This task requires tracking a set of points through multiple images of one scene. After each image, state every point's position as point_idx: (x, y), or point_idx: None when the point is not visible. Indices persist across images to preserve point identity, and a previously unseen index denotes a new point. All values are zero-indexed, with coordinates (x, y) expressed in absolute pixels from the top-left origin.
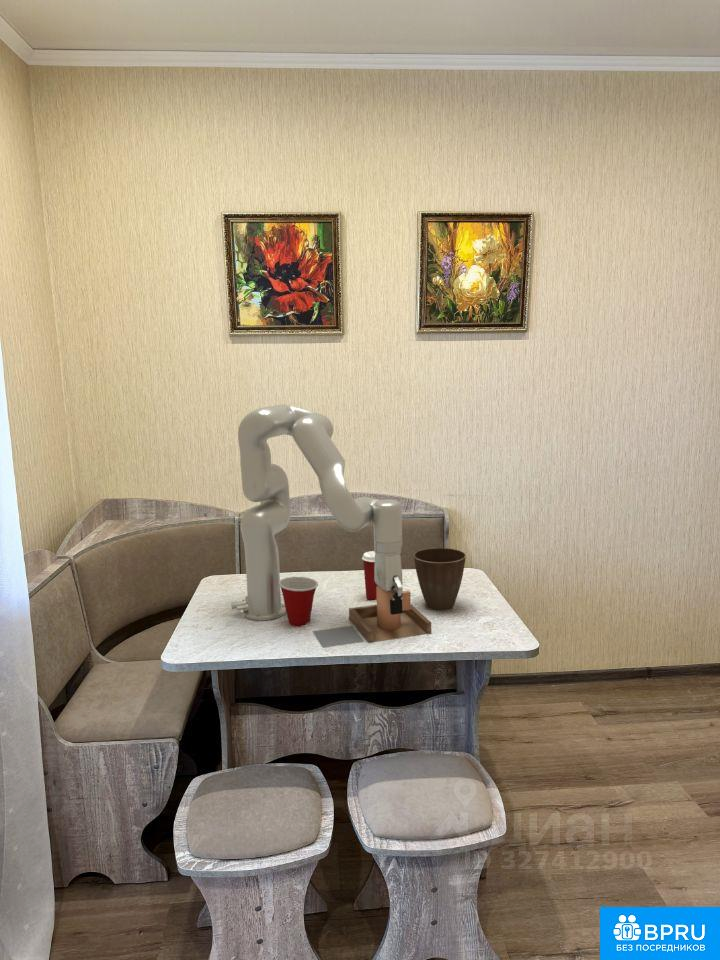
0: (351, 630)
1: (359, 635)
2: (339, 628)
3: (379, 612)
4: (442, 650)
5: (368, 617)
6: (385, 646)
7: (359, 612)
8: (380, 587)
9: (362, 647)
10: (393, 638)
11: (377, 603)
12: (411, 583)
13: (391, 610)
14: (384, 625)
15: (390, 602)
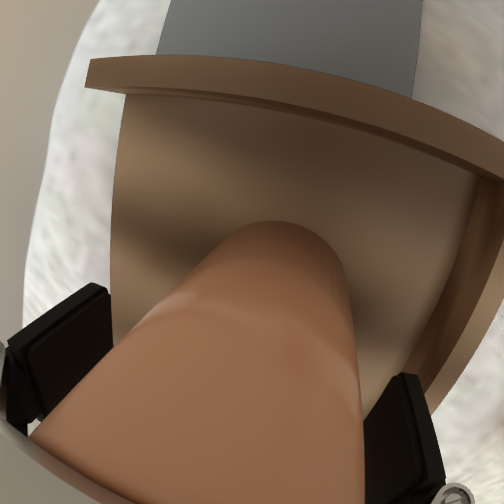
0: (341, 53)
1: (239, 58)
2: (406, 19)
3: (238, 258)
4: (29, 300)
5: (452, 265)
6: (93, 142)
7: (491, 219)
8: (91, 502)
9: (134, 39)
10: (116, 210)
11: (255, 299)
12: (493, 490)
13: (75, 299)
14: (222, 241)
15: (27, 331)
